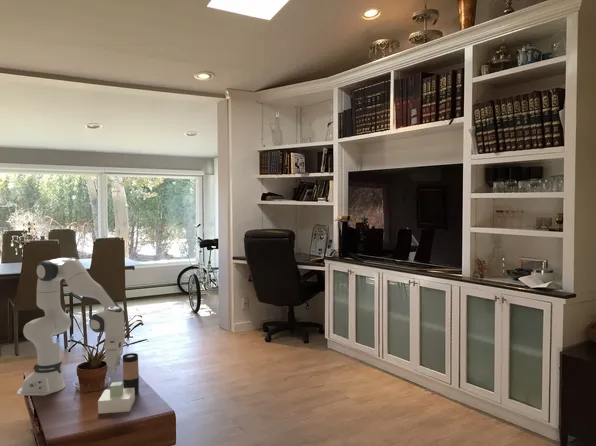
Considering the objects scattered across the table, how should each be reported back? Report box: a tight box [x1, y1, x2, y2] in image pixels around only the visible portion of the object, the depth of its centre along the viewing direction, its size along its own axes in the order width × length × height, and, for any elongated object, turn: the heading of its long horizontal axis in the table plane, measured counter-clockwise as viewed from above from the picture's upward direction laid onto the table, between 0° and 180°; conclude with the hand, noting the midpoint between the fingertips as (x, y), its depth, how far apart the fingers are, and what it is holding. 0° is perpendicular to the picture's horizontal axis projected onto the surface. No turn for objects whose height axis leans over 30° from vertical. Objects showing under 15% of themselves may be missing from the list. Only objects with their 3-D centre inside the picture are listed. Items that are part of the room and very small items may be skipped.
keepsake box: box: [97, 387, 136, 415], centre depth 236 cm, size 14×14×6 cm
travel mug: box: [122, 352, 140, 396], centre depth 251 cm, size 8×8×20 cm
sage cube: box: [109, 381, 124, 397], centre depth 236 cm, size 5×5×5 cm
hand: (115, 369), depth 235 cm, fingers open, 8 cm apart
